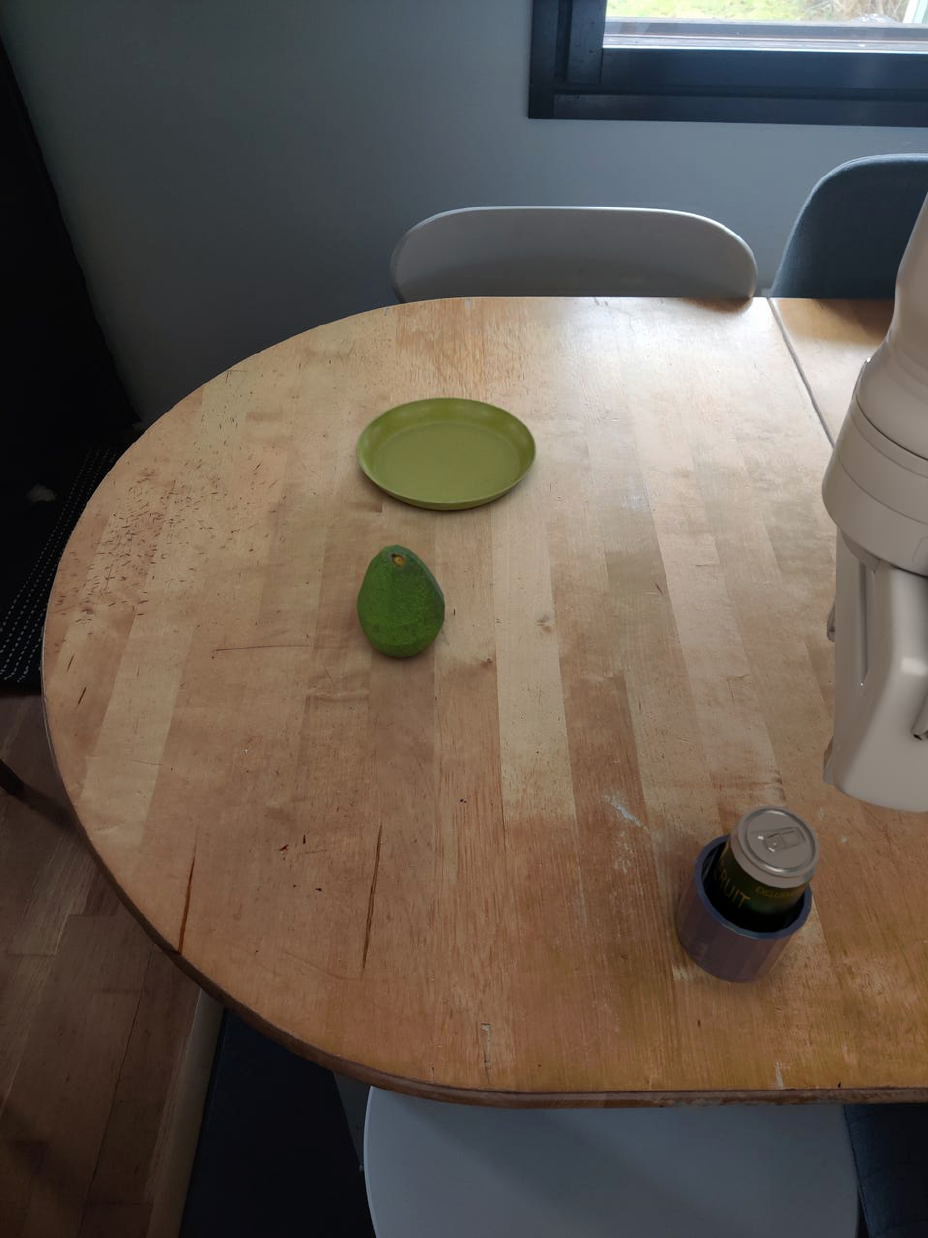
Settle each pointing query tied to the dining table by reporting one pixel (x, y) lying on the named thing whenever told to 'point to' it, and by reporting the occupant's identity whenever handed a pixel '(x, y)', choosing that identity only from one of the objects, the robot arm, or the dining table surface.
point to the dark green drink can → (764, 868)
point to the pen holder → (730, 928)
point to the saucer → (446, 452)
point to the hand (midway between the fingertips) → (841, 699)
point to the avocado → (400, 603)
